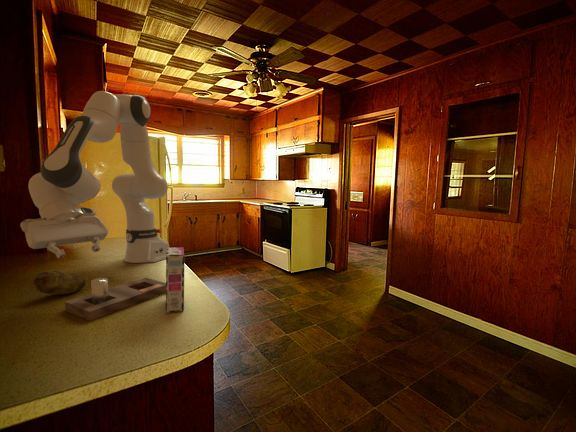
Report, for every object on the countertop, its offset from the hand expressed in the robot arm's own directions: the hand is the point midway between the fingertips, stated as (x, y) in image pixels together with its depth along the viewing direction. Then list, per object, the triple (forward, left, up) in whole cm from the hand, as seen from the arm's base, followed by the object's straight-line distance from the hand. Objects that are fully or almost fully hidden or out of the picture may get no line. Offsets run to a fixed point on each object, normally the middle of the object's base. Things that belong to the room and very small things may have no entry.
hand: (80, 253), depth 86 cm
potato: (0, -11, -15) cm, 19 cm away
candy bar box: (-13, +25, -15) cm, 32 cm away
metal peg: (0, +9, -15) cm, 17 cm away
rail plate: (-7, +9, -15) cm, 18 cm away
